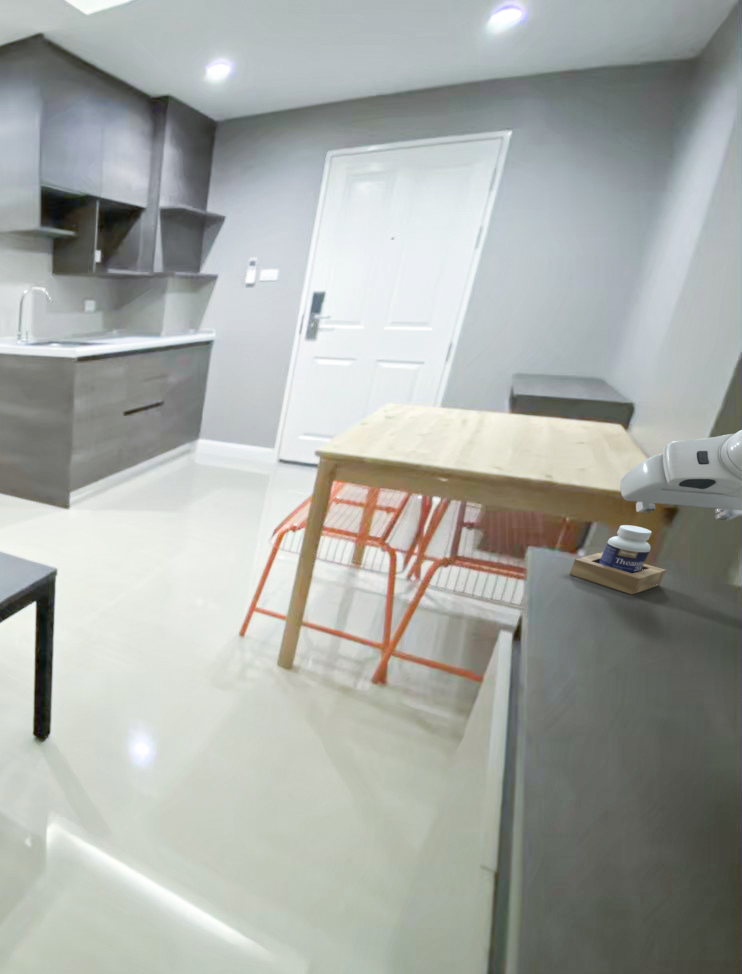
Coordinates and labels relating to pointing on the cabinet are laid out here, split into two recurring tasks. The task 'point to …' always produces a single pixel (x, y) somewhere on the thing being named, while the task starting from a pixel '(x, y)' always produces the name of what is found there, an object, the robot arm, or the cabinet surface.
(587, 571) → the socket pad
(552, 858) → the cabinet surface
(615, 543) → the pill bottle
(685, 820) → the cabinet surface
